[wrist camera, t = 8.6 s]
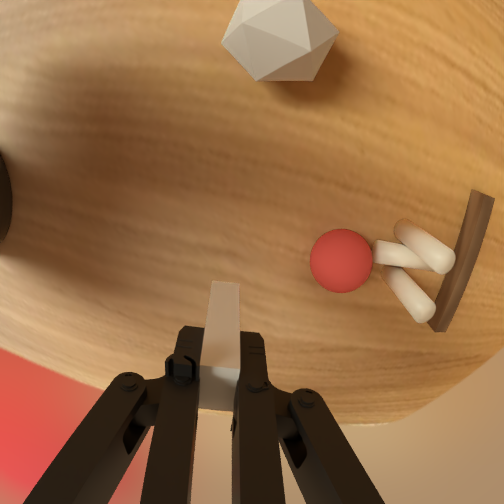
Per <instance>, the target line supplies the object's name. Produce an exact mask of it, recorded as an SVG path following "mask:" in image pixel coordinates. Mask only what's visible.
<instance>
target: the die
mask: <svg viewBox="0 0 504 504" xmlns="http://www.w3.org/2000/svg"><path fill="white" fill-rule="evenodd" d="M338 34H339V31H338V30H337V29H336V28H335V26H334V25H333V24H332V23H331V22H330V21H329V20H328V19H327V18H326V16H325V15H324V14H323V13H322V12H321V11H320V10H319V9H318V8H317V7H316V6H315V5H314V4H313V3H312V2H311V1H310V0H240V2H239V4H238V6H237V8H236V10H235V13H234V15H233V17H232V19H231V21H230V24H229V26H228V28H227V30H226V33H225V35H224V37H223V40H222V42H221V44H222V45H223V46H224V47H225V48H226V49H227V50H228V51H229V53H230V54H231V55H232V56H233V57H234V58H235V59H236V60H237V61H238V62H239V63H240V64H241V65H242V66H243V68H244V69H245V70H246V71H247V72H248V73H249V74H250V75H251V76H252V78H253V79H254V80H255V81H313V79H314V78H315V76H316V74H317V72H318V70H319V68H320V67H321V65H322V63H323V61H324V59H325V57H326V56H327V54H328V52H329V50H330V48H331V47H332V45H333V43H334V41H335V39H336V37H337V36H338Z"/></svg>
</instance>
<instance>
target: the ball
mask: <svg viewBox="0 0 504 504" xmlns="http://www.w3.org/2000/svg"><path fill="white" fill-rule="evenodd" d="M372 262H373V259H372V253H371V250H370V247H369V245H368V244H367V242H366V241H365V239H364V238H363V237H362V236H360V235H359V234H357V233H355V232H353V231H351V230H347V229H336V230H332V231H329V232H327V233H325V234H324V235H322V236H321V237H320V238H319V239H318V240H317V241H316V243H315V244H314V246H313V248H312V251H311V255H310V267H311V271H312V274H313V276H314V278H315V279H316V281H317V282H318V283H319V284H320V285H321V286H322V287H324V288H325V289H327V290H329V291H332V292H336V293H346V292H350V291H353V290H355V289H357V288H359V287H360V286H361V285H362V284H363V283H364V282H365V281H366V280H367V278H368V277H369V275H370V272H371V269H372Z"/></svg>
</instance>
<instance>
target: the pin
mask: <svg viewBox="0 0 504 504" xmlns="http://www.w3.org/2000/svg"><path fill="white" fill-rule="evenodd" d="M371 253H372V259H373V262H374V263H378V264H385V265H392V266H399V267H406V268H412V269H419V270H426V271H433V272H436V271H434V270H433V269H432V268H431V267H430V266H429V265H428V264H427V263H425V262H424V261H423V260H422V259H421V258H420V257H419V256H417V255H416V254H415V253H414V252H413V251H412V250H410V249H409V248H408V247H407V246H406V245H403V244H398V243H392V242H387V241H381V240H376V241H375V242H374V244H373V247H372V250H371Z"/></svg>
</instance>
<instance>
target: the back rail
mask: <svg viewBox="0 0 504 504" xmlns="http://www.w3.org/2000/svg"><path fill="white" fill-rule="evenodd" d="M494 200H495V198H492V197H490V196H488V195H485V194H483V193H480V192H478V191H475V190H471V195H470V199H469V203H468V206H467V210H466V214H465V218H464V221H463V225H462V228H461V231H460V235H459V238H458V241H457V244H456V247H455V250H454V253H455V263H454V265H453V267H452V269H451V270H450V271H449V272H447V273H446V276H445V278H444V281H443V283H442V286H441V288H440V291H439V293H438V296H437V298H436V301H435V305H436V310H435V313H434V315H433V316H432V318H431V319H430V320H428V321H427V323H428V324H429V325H430V327H431V328H432V329H433V331H434V332H446V330H447V328H448V326H449V324H450V322H451V320H452V318H453V316H454V313H455V311H456V309H457V307H458V305H459V302H460V300H461V298H462V295H463V293H464V291H465V288H466V286H467V283H468V281H469V278H470V276H471V273H472V270H473V268H474V265H475V262H476V259H477V257H478V254H479V251H480V248H481V245H482V242H483V239H484V235H485V232H486V229H487V226H488V222H489V219H490V215H491V211H492V208H493V204H494Z"/></svg>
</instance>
